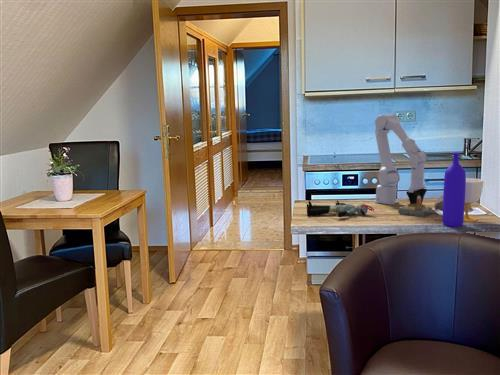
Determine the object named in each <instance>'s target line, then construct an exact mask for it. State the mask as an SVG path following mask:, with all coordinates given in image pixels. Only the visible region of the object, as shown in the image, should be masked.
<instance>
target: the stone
mask: <svg viewBox="0 0 500 375" xmlns="http://www.w3.org/2000/svg"><path fill="white" fill-rule="evenodd" d="M433 205H434V210H436V209H439V210H438V211H443V194H442V195H440V196H438V197H437V198H436V201H435V202H434V204H433ZM471 209H472V210H473V208H472V204H469V206H468V210H469V211H471ZM464 212H466V205H465V207H464Z"/></svg>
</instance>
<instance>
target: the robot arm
mask: <svg viewBox="0 0 500 375" xmlns="http://www.w3.org/2000/svg"><path fill="white" fill-rule="evenodd" d="M374 124H375V130H374V131H375V132H374V134H375V139H376V145H377V150H378V155H379V159H380V160H379V161H380V166H381V167H380V169H379V170H378V182H379V184H377V186H376V189H375V201H374V202H375V203H376V204H385V205H391V206H393V205H395V204H398V203H399V202H400V201H399V200H397V185H398V183H399V182H400V178H401V175H400V174H399V172H398V169H397V167H395V166H394V164H393V160H392V153H391V150H390V149H391V148H390V144H389V139H388V133H389V132H390V131H393V133H394V134H395V135H396V136H397V138H399V140H400V141H401V142H402V143H401V147H402V148H403V150H404V151H405V152H406V154H407V155H408V156H409V157H408V161H409V163H410V186H409V188H408V190H407V191H406V195H407V197H408V201H409V204H416V202H417V197H418V196H420V197H421V204H423V202H424V197H425V195H426V193H427V191H428V189H427V187H426V184H425V183H424V178H425V174H424V173H425V163H426V162H427V159H428V155H427V153H426V151H424V150H421V148H420V147H419V146H418V145H417V144H416V140H415V139H413V138H409V136H408V135H407V132H406V131H405V129H404V127H402V124H401V123H400V119H399V118H398V116H397V114H395V113H390V114H379V115H378V116H377V117H376V118H375V120H374Z"/></svg>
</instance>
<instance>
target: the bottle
mask: <svg viewBox="0 0 500 375" xmlns="http://www.w3.org/2000/svg"><path fill="white" fill-rule="evenodd" d="M451 154H452V155H453V159H452V163H451V164H450V165H449V166H448V167H447V168H446V170H445V171H444V175H443V176H444V179H443V191H442V192H443V194H442V195H443V210H442V226H445V227H448V228H460V227H463V225H464V222H465V221H464V216H465V211H464V207H465V186H466V178H467V177H466V175H467V174H466V171H465V169H464V167H463V166H462V165H461V164H460V162H459V156H460V154H461V152H459V151H458V152H455V151H453V152H452V153H451Z"/></svg>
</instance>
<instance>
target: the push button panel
mask: <svg viewBox="0 0 500 375" xmlns="http://www.w3.org/2000/svg"><path fill="white" fill-rule="evenodd" d="M399 213H401V214H400V215H406V214H409V215H408V216H413V215H416V216H415V217H421V216H422V218H423V217H424V218H425V217H427V216H429V215H431V214H432V213H433V207H431V206H428V207H426V205H425V204H423V203H422V204H410V203H406V204H405V205H403V206H400V207H398V214H399Z"/></svg>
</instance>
